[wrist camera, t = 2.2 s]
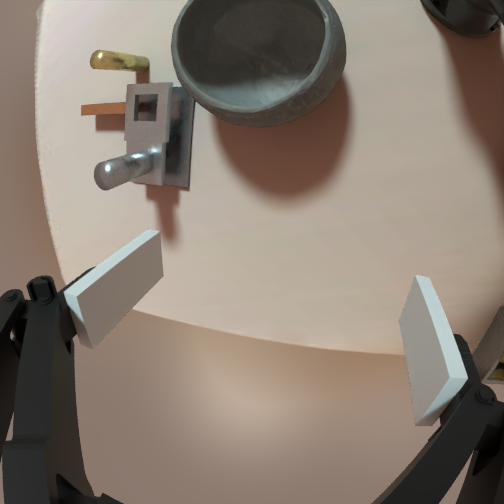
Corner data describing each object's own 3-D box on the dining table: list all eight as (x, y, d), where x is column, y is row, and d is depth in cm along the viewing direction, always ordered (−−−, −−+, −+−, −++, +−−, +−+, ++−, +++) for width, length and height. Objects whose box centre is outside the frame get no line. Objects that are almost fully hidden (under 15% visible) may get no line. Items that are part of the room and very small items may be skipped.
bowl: (191, 29, 39) (139, 7, 26) (314, -16, 31) (302, -63, 18) (232, 141, 46) (190, 154, 33) (363, 103, 38) (377, 97, 25)
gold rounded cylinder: (136, 57, 43) (91, 51, 32) (150, 56, 42) (105, 48, 32) (134, 73, 44) (89, 70, 34) (148, 71, 44) (103, 67, 33)
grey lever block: (96, 89, 47) (37, 93, 34) (196, 84, 43) (143, 78, 30) (95, 173, 55) (40, 195, 42) (188, 186, 51) (139, 213, 38)
